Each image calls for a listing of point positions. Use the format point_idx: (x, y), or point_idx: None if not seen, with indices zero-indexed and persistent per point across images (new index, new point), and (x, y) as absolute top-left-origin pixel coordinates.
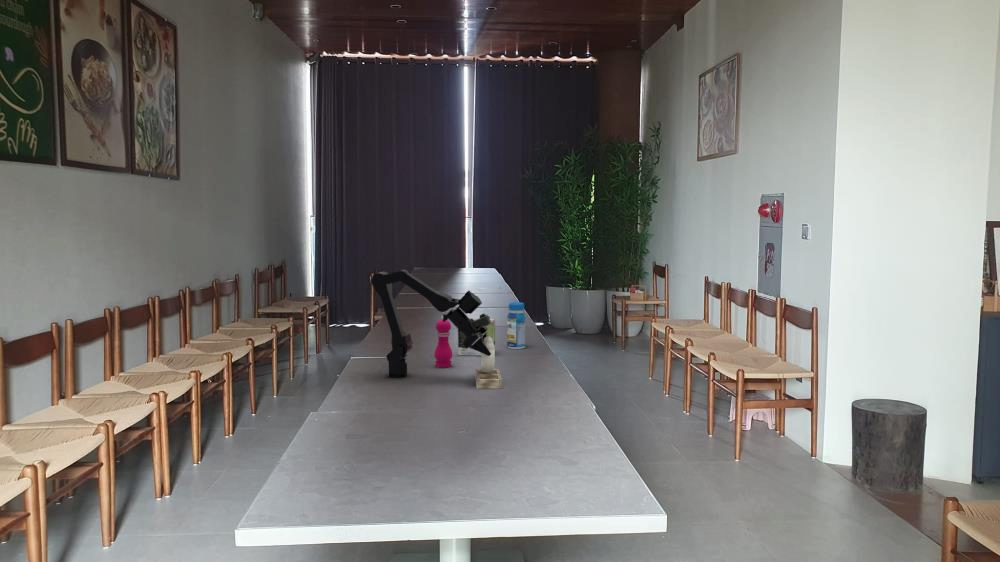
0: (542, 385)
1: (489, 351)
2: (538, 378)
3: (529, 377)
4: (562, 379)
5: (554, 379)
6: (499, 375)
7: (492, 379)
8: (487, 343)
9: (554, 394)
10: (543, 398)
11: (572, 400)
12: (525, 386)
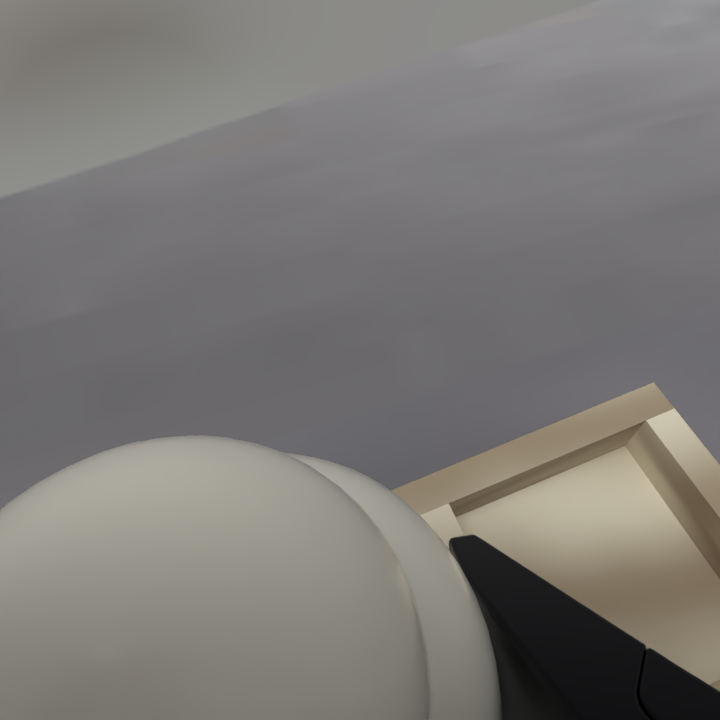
0: (381, 199)
1: (493, 559)
2: (177, 272)
3: (154, 335)
4: (180, 153)
5: (189, 186)
6: (477, 470)
7: (711, 481)
8: (433, 634)
9: (573, 97)
10: (706, 114)
11: (640, 17)
12: (460, 278)
